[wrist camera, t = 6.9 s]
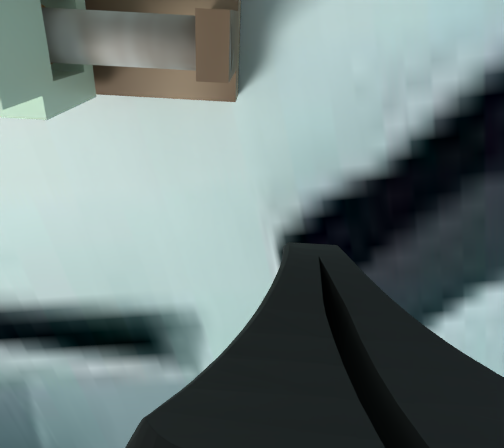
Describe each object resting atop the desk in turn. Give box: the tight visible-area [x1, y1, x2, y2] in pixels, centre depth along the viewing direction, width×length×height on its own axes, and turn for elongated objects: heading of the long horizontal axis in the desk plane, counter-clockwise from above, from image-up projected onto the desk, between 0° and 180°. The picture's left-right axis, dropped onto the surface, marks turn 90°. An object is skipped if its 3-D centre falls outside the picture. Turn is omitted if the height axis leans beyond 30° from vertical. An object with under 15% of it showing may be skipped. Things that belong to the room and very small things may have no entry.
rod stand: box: [41, 0, 241, 102], centre depth 14 cm, size 9×4×5 cm, turn 88°
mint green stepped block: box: [0, 0, 96, 120], centre depth 12 cm, size 2×4×6 cm, turn 178°
